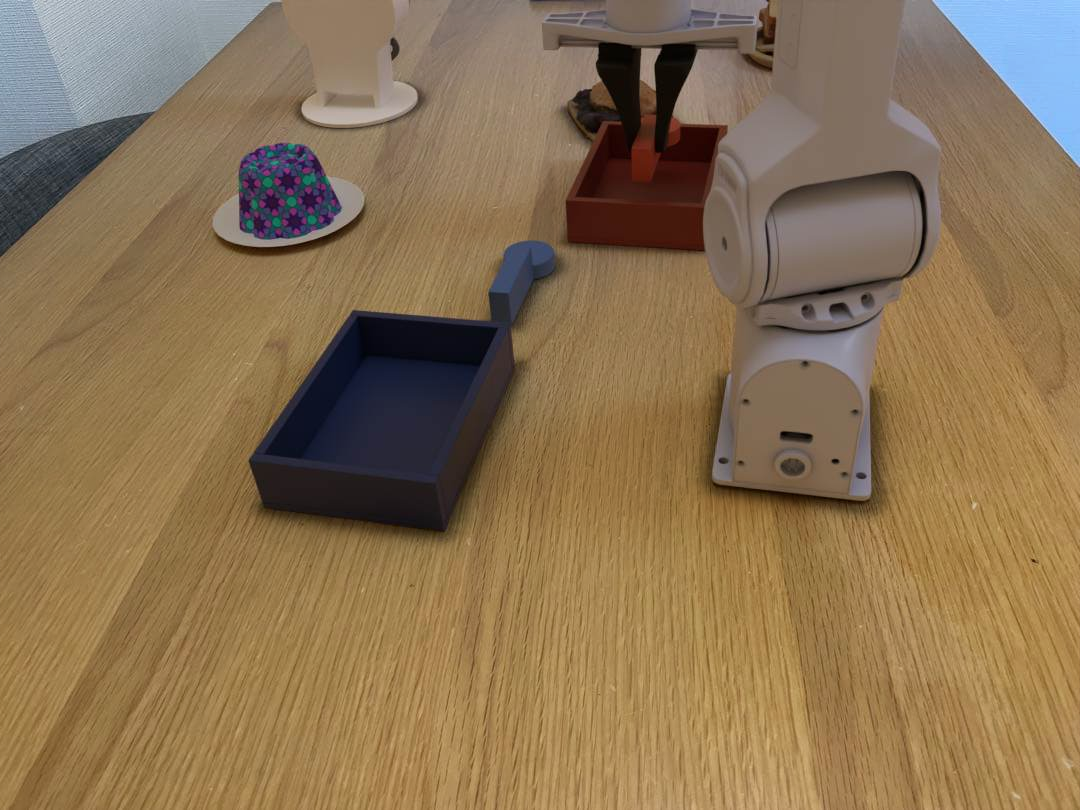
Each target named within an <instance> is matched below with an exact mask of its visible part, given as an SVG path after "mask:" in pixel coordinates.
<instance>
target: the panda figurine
mask: <svg viewBox="0 0 1080 810" xmlns="http://www.w3.org/2000/svg"><path fill="white" fill-rule="evenodd" d="M280 2H281V7H282V11H283V14H284V16H285V19H286V21H287V23H288V25H289V26H290V28H291V30H292V31H293V33H294V34H295V35H296V36H297V37H298V38H299V39H300V40H301V41H302V42H303V43H305V45H307V48H308V53H309V58H310V62H311V66H312V72H313V78H314V83H315V91H316V92H314V93H313V94H312V95H310V96H309V97H307V98H306V99H305V100H304V101H303V102H302V105H301V108H300V109H301V114H302V117H303V118H304V119H305V120H306V121H307V122H309V123H311V124H313V125H316V126H320V127H325V128H332V129H351V128H353V129H354V128H363V127H369V126H370V127H371V126H375V125H378V124H382V123H386V122H390V121H392V120H395V119H397V118H399V117H402V116H404V115H405V114H407V113H408V112H410V111H411V110H412V109H414V107H416V105H417V104H418V101H419V97H418V92H417V90H416V89H415V88H414V87H413V86H411V85H409V84H408V83H405V82H402V81H398V80H394V73H393V62H394V60H395V59H396V58H397V57H398V56H399V54H400V52H401V51H400V49H401V47H400V44H399V42H398V40H397V38H395V36H396V35H397V34H398V33H399V32H400V31H401V29H402V27H403V26H404V25H405V22H406V20H407V19H408V14H409V12H410V6H411V0H280Z"/></svg>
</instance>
